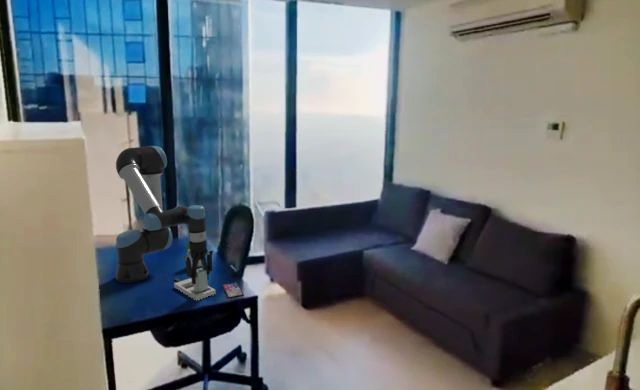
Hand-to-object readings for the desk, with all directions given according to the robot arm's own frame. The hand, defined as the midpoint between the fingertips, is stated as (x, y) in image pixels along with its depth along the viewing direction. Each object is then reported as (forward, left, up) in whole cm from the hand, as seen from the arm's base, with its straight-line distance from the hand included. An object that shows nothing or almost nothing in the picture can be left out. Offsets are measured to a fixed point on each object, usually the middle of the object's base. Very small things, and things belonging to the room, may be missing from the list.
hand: (200, 288), depth 207 cm
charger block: (0, 0, 0) cm, 0 cm away
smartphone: (+6, +13, -4) cm, 15 cm away
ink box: (-33, +16, -3) cm, 37 cm away
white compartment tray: (-10, 0, -3) cm, 10 cm away
